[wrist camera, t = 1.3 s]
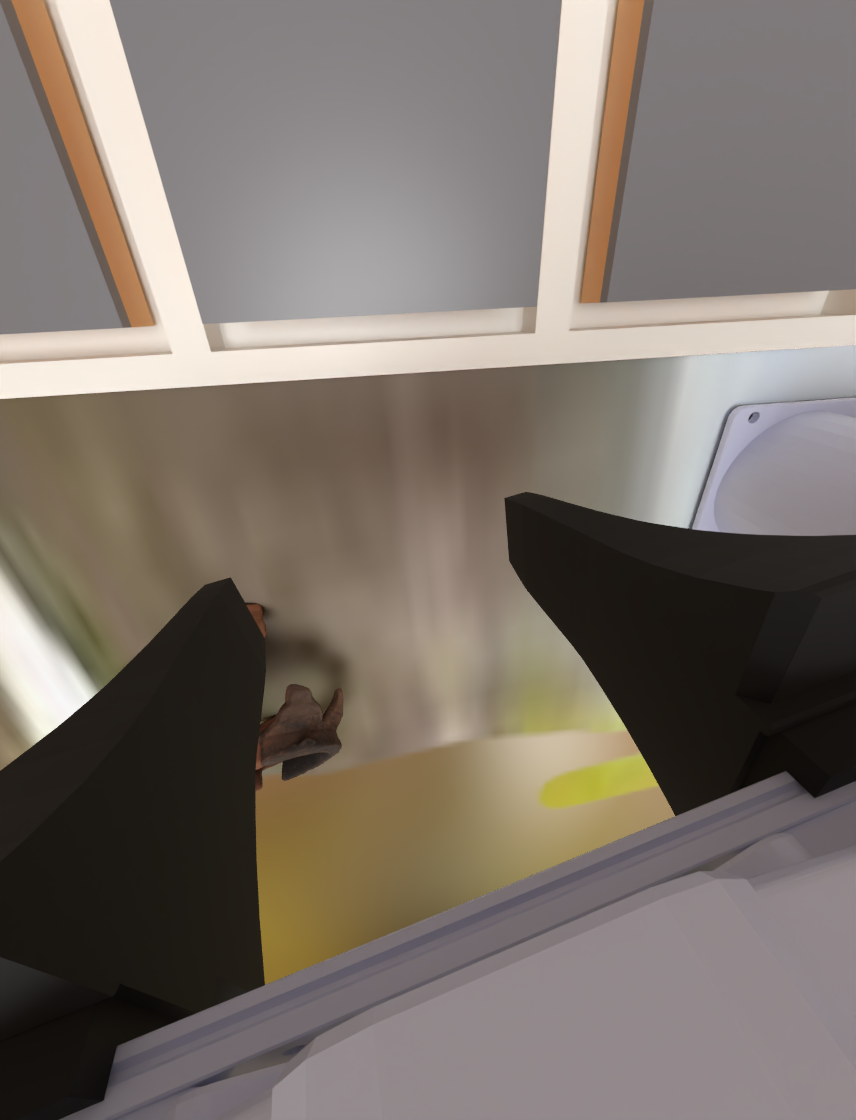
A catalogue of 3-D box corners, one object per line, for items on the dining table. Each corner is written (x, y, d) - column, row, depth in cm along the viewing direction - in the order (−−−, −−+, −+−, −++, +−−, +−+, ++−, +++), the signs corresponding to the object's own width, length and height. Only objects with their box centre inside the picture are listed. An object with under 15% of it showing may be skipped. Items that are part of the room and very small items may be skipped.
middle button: (537, -56, 10) (572, -135, 8) (516, 306, 13) (536, 306, 12) (126, -60, 9) (67, -146, 7) (225, 322, 13) (202, 324, 11)
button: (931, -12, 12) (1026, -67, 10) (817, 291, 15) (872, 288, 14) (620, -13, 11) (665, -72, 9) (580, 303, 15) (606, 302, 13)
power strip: (968, -67, 12) (1121, -164, 10) (810, 338, 18) (881, 343, 15) (-805, -85, 9) (-1247, -233, 7) (-329, 408, 15) (-473, 428, 12)
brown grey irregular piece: (310, 575, 22) (350, 727, 18) (329, 641, 30) (360, 757, 26) (50, 644, 19) (31, 846, 15) (148, 697, 27) (152, 838, 23)
